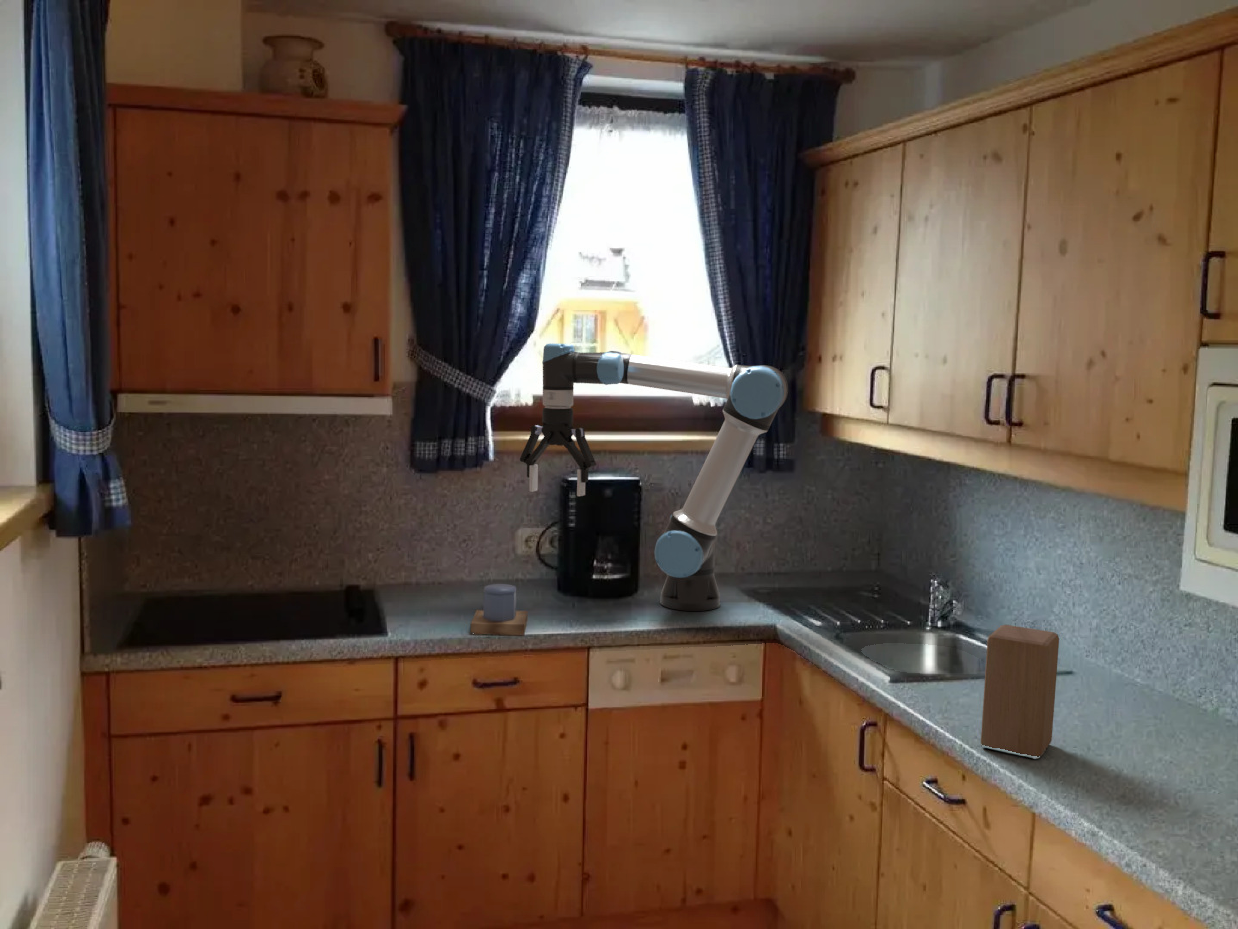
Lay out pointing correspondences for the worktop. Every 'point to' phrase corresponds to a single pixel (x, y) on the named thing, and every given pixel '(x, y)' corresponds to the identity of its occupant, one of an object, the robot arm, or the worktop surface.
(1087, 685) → the worktop surface
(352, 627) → the worktop surface
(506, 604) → the cap
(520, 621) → the stud block
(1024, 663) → the wooden block
